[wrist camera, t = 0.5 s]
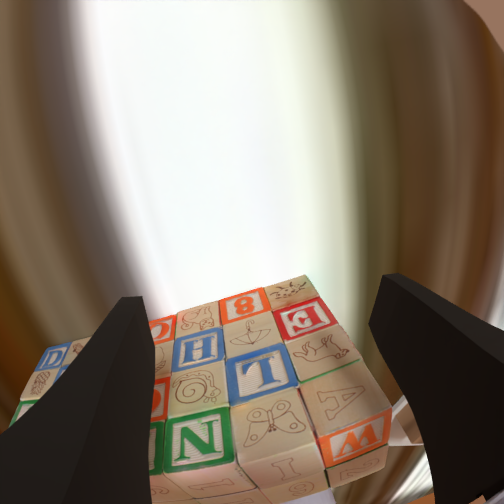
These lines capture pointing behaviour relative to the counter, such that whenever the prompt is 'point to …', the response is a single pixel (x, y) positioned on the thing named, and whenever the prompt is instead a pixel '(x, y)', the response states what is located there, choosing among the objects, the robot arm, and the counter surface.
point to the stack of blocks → (252, 400)
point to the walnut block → (409, 424)
